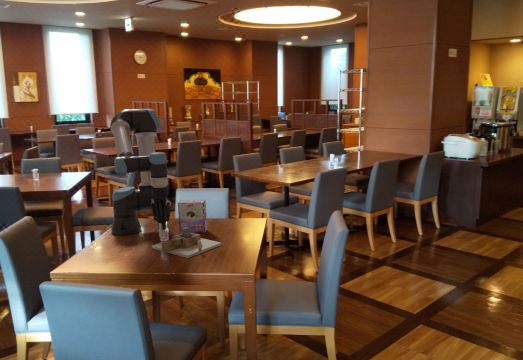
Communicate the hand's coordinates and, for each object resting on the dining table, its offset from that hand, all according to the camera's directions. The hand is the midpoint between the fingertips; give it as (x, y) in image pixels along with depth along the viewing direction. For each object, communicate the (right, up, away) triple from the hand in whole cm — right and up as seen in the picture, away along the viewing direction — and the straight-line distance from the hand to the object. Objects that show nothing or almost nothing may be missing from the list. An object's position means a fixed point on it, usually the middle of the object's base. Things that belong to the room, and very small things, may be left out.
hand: (162, 236), depth 216 cm
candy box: (+10, -1, +29) cm, 30 cm away
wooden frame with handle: (+8, -5, -1) cm, 9 cm away
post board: (+11, -5, +3) cm, 12 cm away
